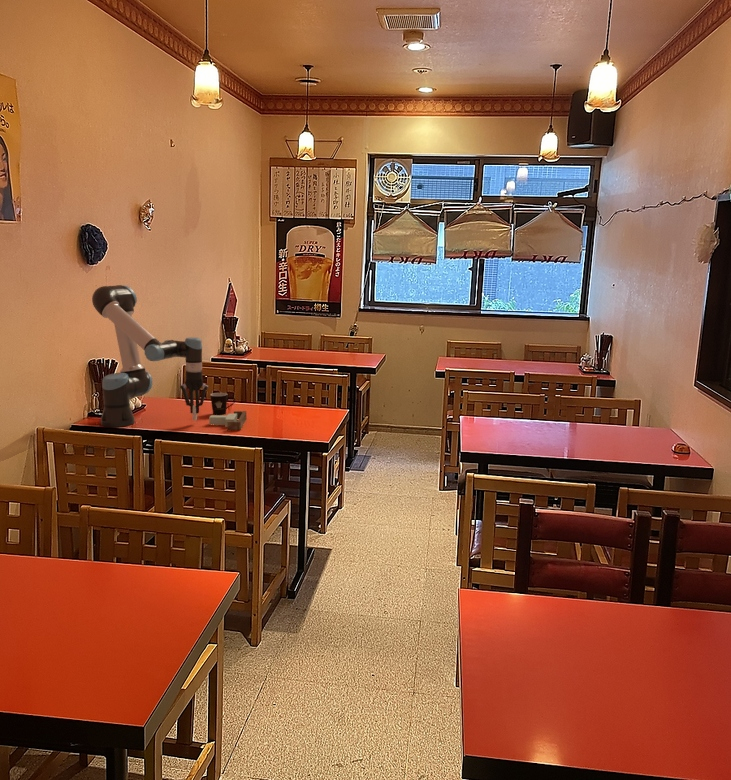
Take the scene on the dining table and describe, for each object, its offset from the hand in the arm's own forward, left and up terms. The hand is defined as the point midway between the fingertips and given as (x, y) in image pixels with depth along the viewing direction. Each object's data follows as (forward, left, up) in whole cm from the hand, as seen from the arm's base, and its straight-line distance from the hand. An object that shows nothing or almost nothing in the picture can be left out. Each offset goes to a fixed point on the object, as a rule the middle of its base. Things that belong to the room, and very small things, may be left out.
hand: (194, 419), depth 330 cm
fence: (+20, 0, -2) cm, 20 cm away
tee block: (+13, 0, -2) cm, 13 cm away
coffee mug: (+9, +22, -3) cm, 24 cm away
